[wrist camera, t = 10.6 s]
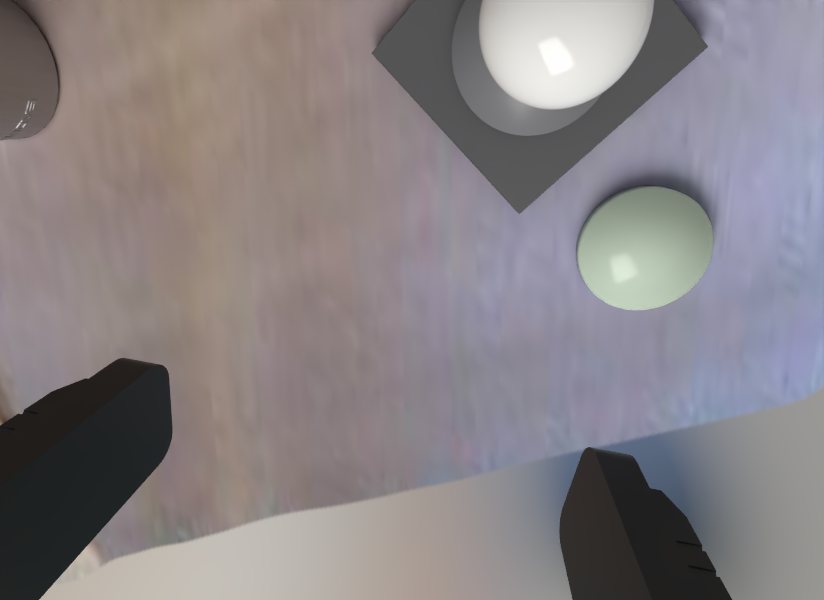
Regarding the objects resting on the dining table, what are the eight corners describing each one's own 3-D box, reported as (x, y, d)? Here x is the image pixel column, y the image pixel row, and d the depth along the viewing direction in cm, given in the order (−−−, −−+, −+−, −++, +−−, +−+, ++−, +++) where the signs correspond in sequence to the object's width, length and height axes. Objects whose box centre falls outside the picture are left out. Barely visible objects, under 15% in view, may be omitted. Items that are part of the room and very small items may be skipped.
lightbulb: (540, -51, 23) (591, -181, 13) (623, 42, 24) (729, -12, 14) (453, 55, 26) (439, 13, 15) (532, 136, 27) (568, 147, 16)
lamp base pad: (375, 55, 28) (368, 51, 26) (546, -151, 23) (553, -174, 22) (517, 210, 30) (520, 216, 28) (697, 49, 26) (715, 44, 24)
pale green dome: (553, 231, 30) (556, 234, 29) (672, 159, 28) (679, 160, 27) (610, 324, 32) (614, 330, 31) (726, 265, 30) (734, 269, 29)
